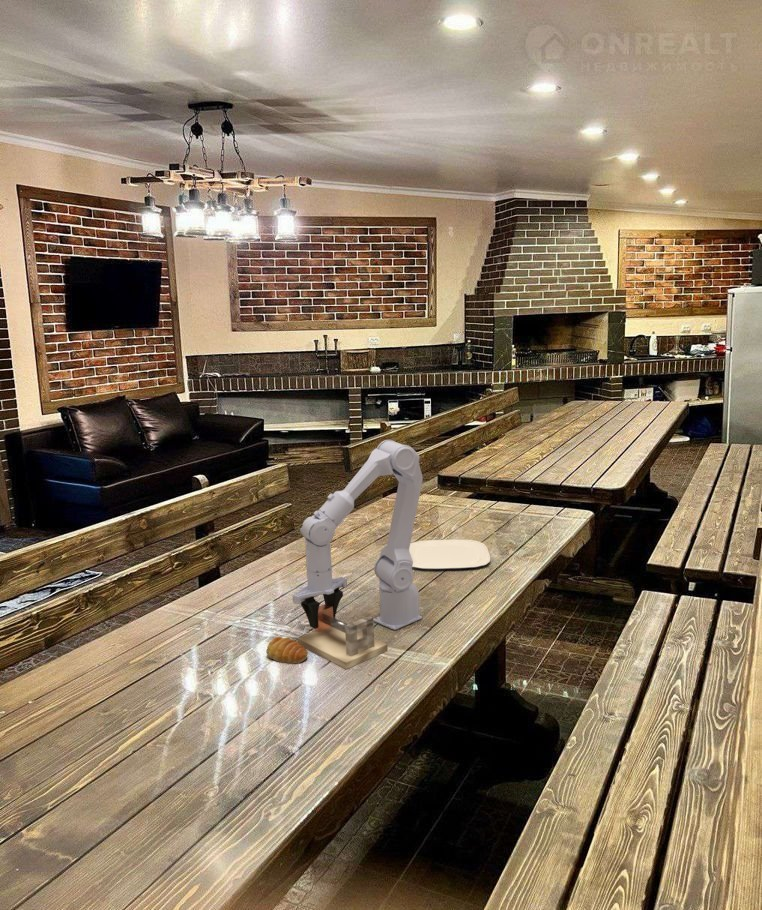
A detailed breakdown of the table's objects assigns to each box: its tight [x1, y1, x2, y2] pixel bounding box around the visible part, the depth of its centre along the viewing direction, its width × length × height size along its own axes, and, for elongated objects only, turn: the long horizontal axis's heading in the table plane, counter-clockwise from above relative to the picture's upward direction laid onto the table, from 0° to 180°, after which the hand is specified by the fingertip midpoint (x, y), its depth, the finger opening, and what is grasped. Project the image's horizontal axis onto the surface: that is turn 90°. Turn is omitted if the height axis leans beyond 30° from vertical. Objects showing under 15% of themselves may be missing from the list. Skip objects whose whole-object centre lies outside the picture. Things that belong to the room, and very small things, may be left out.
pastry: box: [265, 636, 309, 664], centre depth 169 cm, size 9×7×4 cm
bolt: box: [311, 603, 349, 633], centre depth 174 cm, size 4×10×5 cm, turn 43°
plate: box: [409, 538, 491, 570], centre depth 230 cm, size 25×25×2 cm
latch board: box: [296, 615, 388, 670], centre depth 172 cm, size 12×18×8 cm
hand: (322, 623), depth 177 cm, fingers closed on bolt, 4 cm apart
